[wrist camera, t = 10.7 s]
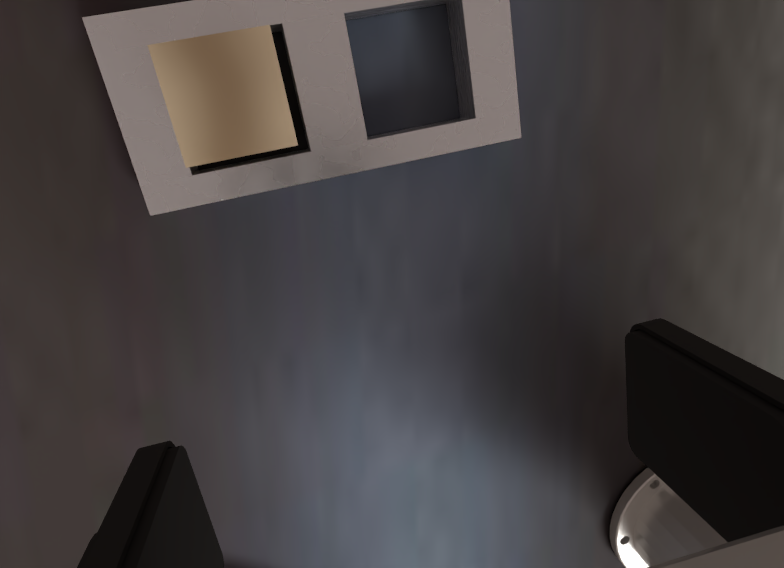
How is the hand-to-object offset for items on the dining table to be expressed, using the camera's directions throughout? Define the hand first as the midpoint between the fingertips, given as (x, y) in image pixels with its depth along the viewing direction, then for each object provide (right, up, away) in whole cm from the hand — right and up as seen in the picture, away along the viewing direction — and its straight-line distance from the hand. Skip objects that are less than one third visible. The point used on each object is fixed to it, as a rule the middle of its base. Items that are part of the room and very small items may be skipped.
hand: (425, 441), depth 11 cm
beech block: (-9, +13, +17) cm, 23 cm away
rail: (-4, +14, +17) cm, 23 cm away
